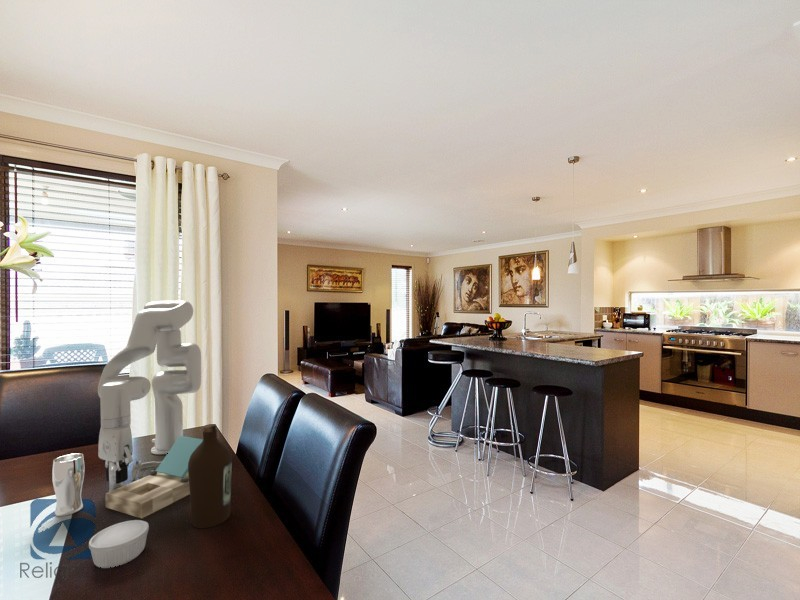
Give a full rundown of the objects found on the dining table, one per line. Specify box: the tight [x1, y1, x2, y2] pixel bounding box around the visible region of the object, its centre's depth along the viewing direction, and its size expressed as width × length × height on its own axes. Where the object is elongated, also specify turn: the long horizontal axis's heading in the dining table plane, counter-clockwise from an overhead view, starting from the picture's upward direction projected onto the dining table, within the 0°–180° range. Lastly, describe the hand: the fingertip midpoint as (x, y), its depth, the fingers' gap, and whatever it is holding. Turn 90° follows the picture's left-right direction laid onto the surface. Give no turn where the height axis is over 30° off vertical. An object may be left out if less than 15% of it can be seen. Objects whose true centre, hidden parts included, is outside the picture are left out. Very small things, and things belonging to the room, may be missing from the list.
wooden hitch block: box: [105, 470, 190, 519], centre depth 118 cm, size 16×22×5 cm
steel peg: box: [108, 456, 126, 492], centre depth 121 cm, size 4×4×10 cm
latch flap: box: [155, 435, 203, 478], centre depth 124 cm, size 12×12×1 cm
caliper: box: [131, 460, 163, 481], centre depth 137 cm, size 20×1×6 cm, turn 148°
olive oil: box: [188, 423, 233, 529], centre depth 104 cm, size 11×11×25 cm
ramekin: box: [88, 519, 150, 569], centre depth 89 cm, size 11×11×5 cm
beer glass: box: [51, 452, 85, 517], centre depth 110 cm, size 7×7×15 cm
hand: (117, 479), depth 121 cm, fingers closed on steel peg, 4 cm apart
